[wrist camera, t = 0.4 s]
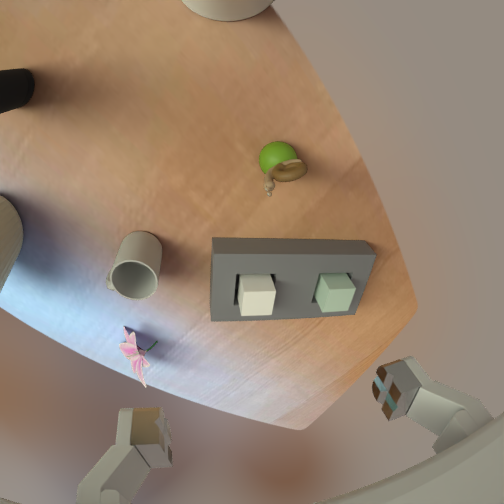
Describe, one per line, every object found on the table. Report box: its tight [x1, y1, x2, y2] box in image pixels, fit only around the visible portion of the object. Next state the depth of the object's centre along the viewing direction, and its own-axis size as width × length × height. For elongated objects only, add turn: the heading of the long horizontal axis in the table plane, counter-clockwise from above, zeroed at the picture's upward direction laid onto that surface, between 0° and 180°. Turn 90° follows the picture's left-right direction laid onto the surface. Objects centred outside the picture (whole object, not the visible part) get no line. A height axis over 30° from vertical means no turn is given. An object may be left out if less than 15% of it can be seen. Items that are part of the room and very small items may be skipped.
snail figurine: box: [259, 141, 308, 196], centre depth 41 cm, size 5×6×12 cm
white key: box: [238, 274, 276, 316], centre depth 51 cm, size 5×5×5 cm
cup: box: [106, 231, 162, 300], centre depth 47 cm, size 7×10×9 cm
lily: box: [119, 327, 158, 387], centre depth 58 cm, size 12×12×10 cm
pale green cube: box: [314, 273, 356, 312], centre depth 54 cm, size 5×5×5 cm
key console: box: [210, 238, 376, 321], centre depth 56 cm, size 14×28×5 cm, turn 84°
